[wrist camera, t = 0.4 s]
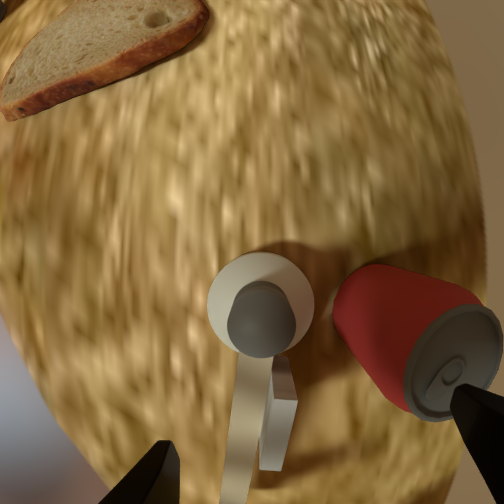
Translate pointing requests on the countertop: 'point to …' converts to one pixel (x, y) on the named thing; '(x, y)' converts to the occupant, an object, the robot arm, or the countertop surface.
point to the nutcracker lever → (259, 386)
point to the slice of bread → (96, 49)
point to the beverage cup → (2, 10)
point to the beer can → (417, 337)
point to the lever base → (260, 269)
